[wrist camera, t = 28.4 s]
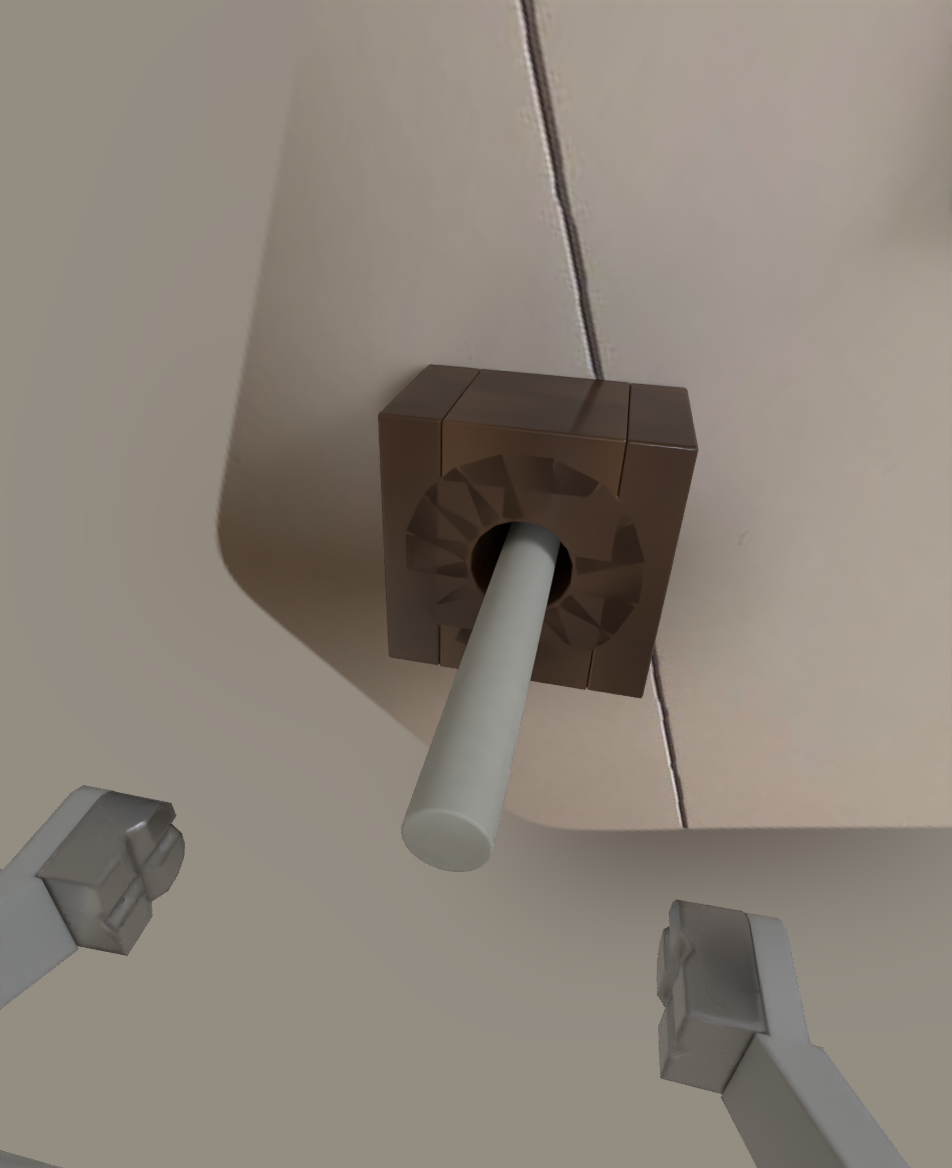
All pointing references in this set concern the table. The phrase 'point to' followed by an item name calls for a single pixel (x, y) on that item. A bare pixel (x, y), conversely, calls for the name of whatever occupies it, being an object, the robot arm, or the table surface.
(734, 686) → the table surface
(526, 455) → the pen block
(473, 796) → the stylus
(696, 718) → the table surface
